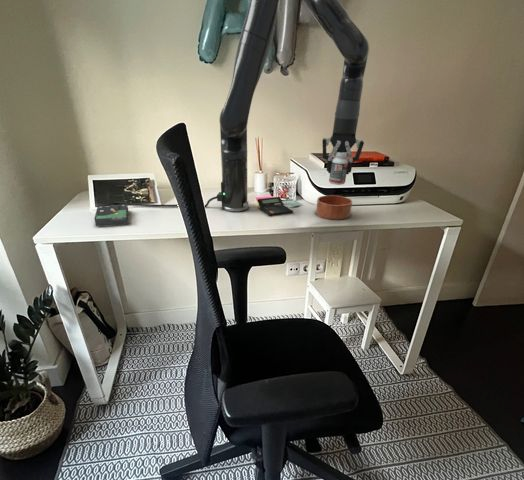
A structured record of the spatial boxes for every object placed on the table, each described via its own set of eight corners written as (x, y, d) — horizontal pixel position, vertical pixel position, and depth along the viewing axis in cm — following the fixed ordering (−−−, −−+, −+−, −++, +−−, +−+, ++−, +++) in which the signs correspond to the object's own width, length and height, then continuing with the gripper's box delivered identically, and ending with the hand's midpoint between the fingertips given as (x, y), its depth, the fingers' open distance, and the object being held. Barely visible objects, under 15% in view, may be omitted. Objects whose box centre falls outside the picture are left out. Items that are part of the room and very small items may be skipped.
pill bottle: (344, 185, 127) (349, 153, 121) (328, 184, 128) (332, 152, 122) (345, 181, 132) (350, 150, 126) (329, 180, 133) (333, 149, 126)
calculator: (270, 216, 133) (270, 207, 131) (257, 206, 142) (257, 198, 140) (292, 213, 136) (293, 205, 135) (278, 204, 145) (279, 196, 143)
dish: (315, 218, 132) (317, 204, 129) (316, 207, 142) (318, 194, 139) (350, 220, 131) (353, 206, 128) (349, 210, 141) (351, 196, 138)
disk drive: (98, 213, 132) (96, 227, 120) (96, 205, 130) (94, 218, 119) (128, 211, 134) (129, 224, 123) (127, 203, 132) (127, 216, 121)
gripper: (368, 116, 120) (358, 172, 130) (324, 114, 121) (317, 169, 132) (370, 119, 114) (359, 177, 124) (324, 116, 115) (317, 174, 126)
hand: (338, 173), depth 128 cm, fingers closed on pill bottle, 5 cm apart
